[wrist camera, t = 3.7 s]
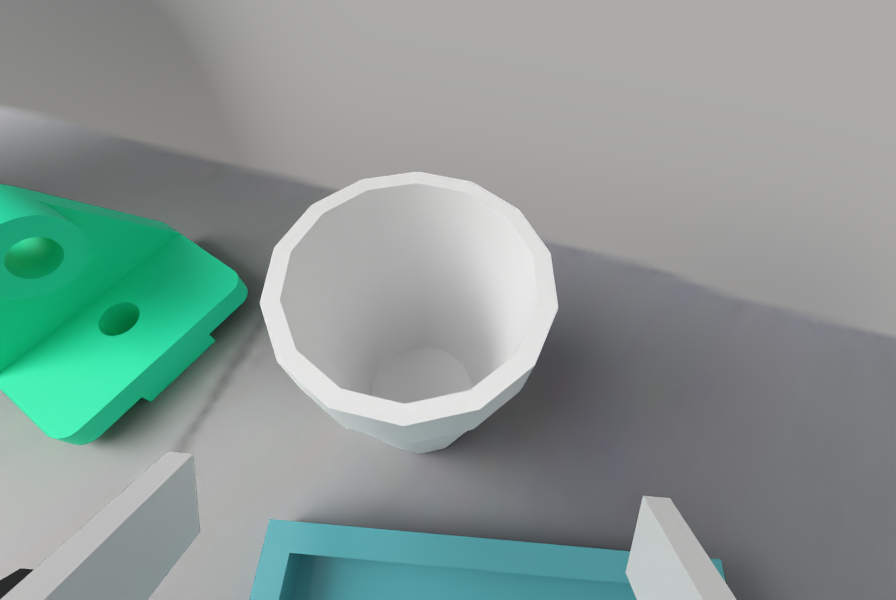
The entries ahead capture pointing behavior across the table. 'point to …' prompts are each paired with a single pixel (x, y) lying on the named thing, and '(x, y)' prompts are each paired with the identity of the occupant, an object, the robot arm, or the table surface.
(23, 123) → the table surface
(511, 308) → the foam cup
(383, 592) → the teal tray
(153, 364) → the camera mount
